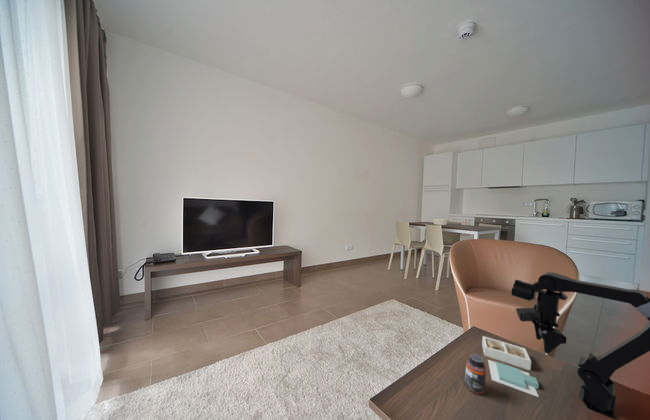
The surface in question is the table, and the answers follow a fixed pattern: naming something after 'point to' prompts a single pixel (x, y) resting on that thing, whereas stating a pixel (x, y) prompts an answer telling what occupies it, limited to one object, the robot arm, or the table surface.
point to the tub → (506, 354)
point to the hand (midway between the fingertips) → (542, 345)
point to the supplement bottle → (475, 374)
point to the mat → (495, 378)
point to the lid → (515, 376)
